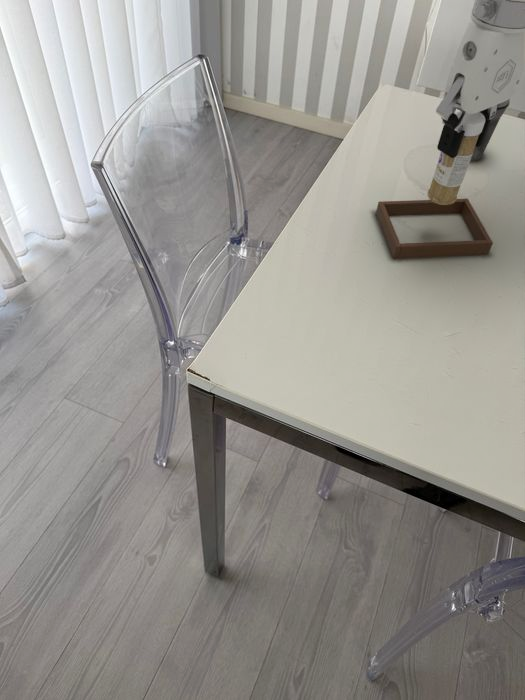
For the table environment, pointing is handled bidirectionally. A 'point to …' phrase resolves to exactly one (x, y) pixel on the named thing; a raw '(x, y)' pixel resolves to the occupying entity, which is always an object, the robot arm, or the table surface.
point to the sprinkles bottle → (455, 163)
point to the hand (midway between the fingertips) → (459, 146)
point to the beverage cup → (490, 130)
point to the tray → (433, 248)
